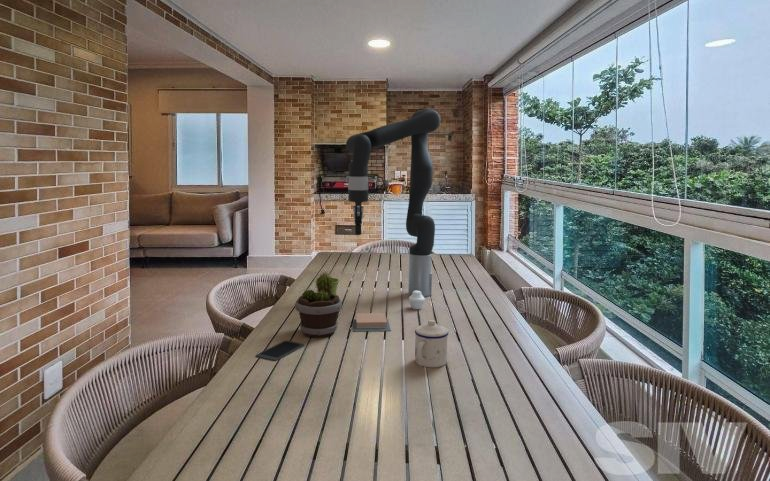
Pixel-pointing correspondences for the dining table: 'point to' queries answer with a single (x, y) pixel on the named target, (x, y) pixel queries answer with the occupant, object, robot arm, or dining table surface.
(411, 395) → the dining table surface
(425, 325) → the teacup with lid
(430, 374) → the dining table surface
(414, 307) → the white citrus juicer
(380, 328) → the mat
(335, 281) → the plant pot
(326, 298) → the flowerpot
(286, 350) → the cell phone
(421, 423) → the dining table surface
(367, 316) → the tile
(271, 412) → the dining table surface
